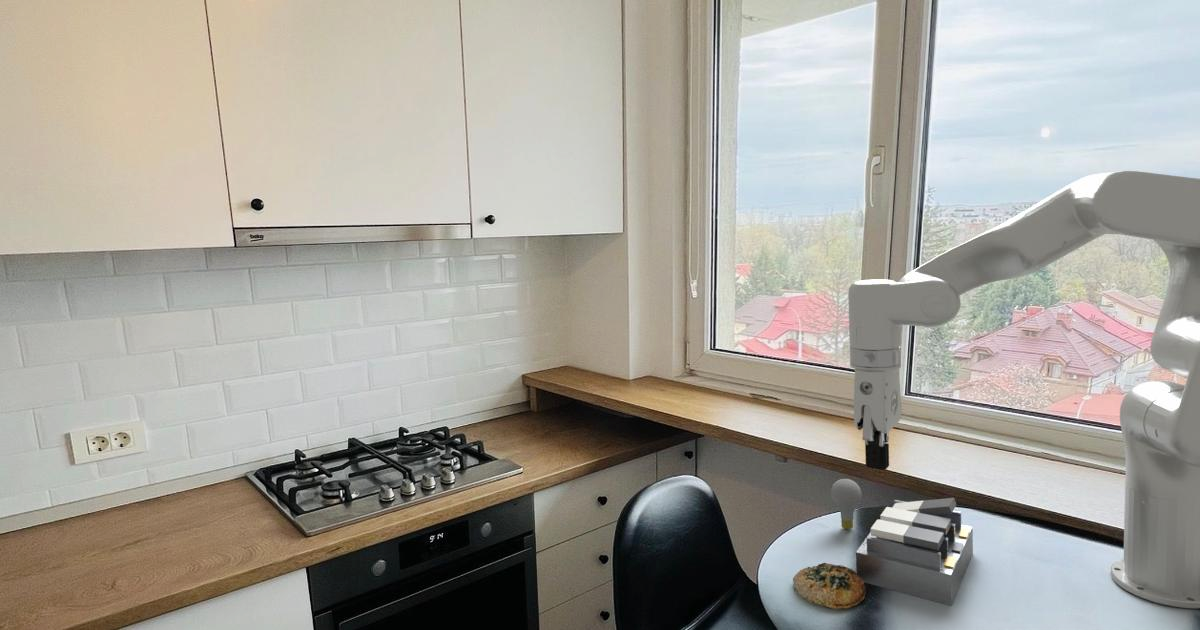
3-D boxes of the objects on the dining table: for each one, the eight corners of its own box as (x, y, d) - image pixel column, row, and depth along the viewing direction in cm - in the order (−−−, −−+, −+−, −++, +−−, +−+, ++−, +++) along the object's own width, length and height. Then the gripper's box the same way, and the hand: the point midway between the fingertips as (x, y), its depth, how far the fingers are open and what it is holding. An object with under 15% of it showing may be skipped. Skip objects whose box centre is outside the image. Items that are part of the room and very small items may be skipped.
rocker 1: (956, 505, 111) (954, 497, 111) (952, 514, 108) (949, 506, 108) (897, 510, 117) (895, 503, 117) (891, 518, 114) (889, 511, 114)
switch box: (972, 554, 112) (972, 512, 111) (951, 605, 98) (950, 558, 97) (887, 535, 121) (886, 496, 120) (856, 580, 107) (855, 537, 106)
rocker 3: (943, 540, 102) (943, 532, 102) (938, 551, 99) (938, 543, 99) (877, 526, 109) (877, 519, 109) (870, 536, 106) (870, 528, 106)
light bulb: (865, 536, 121) (863, 485, 120) (834, 535, 122) (832, 485, 121) (859, 523, 126) (858, 474, 125) (830, 522, 127) (828, 474, 126)
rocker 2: (950, 526, 107) (950, 518, 107) (945, 536, 104) (945, 528, 104) (887, 514, 113) (886, 506, 113) (880, 522, 110) (880, 515, 110)
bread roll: (862, 575, 108) (860, 549, 107) (870, 622, 98) (868, 594, 97) (793, 572, 112) (790, 547, 110) (794, 618, 101) (791, 591, 100)
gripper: (886, 368, 95) (888, 487, 97) (912, 349, 106) (913, 456, 109) (835, 365, 100) (838, 478, 102) (865, 347, 111) (867, 449, 113)
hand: (877, 467), depth 105 cm, fingers closed
